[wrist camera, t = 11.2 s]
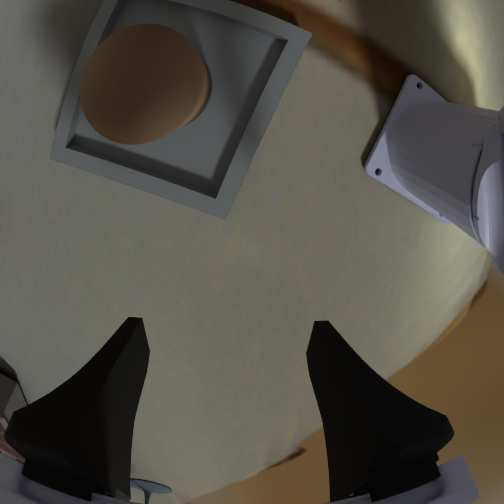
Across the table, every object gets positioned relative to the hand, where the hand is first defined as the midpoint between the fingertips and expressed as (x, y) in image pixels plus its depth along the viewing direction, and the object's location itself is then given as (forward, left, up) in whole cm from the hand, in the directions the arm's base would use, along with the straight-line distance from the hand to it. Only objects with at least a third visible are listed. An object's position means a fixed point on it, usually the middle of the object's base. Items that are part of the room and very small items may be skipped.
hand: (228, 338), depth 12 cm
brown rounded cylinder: (+7, -8, -8) cm, 14 cm away
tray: (+7, -8, -9) cm, 14 cm away
